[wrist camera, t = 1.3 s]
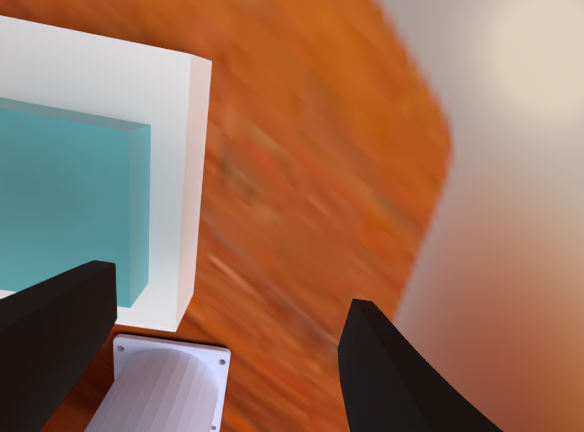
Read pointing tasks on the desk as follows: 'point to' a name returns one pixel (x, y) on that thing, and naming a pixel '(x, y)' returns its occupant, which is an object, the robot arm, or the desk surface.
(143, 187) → the tile
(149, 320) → the white flat block
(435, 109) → the desk surface
